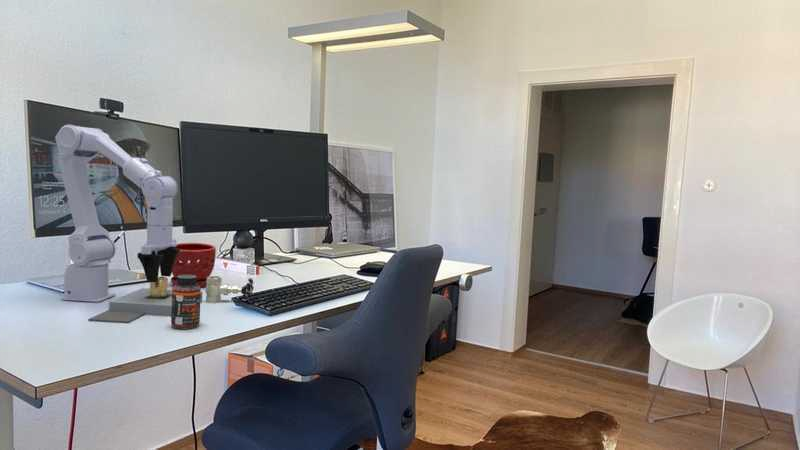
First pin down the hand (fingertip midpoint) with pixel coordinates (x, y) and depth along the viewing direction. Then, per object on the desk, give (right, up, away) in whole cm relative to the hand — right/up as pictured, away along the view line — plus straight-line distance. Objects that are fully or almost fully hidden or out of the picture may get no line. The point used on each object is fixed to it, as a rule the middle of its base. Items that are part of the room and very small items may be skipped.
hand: (159, 279), depth 132 cm
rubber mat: (-5, -8, -10) cm, 14 cm away
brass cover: (-1, -7, +1) cm, 7 cm away
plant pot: (-2, -5, +27) cm, 27 cm away
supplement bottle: (+12, -9, -14) cm, 21 cm away
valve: (+14, -7, +10) cm, 19 cm away
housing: (-1, -7, +1) cm, 7 cm away
